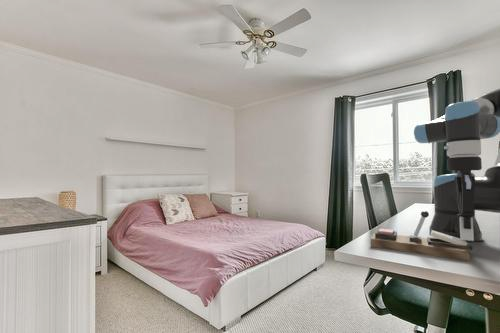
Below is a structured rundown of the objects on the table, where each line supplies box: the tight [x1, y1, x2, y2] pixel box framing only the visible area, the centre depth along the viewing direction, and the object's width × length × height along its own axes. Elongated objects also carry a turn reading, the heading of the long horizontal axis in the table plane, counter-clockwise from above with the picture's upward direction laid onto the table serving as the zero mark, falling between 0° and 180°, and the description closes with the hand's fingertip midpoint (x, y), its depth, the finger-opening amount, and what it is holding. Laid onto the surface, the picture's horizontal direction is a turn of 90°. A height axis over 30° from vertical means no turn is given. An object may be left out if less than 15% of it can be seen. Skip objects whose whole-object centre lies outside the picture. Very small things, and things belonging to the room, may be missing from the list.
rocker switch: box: [430, 230, 467, 246], centre depth 73 cm, size 8×4×1 cm, turn 57°
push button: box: [378, 228, 394, 235], centre depth 82 cm, size 4×4×2 cm
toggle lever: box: [413, 210, 430, 237], centre depth 77 cm, size 2×2×8 cm
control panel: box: [370, 229, 473, 262], centre depth 78 cm, size 25×10×4 cm, turn 57°
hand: (466, 239), depth 71 cm, fingers closed
